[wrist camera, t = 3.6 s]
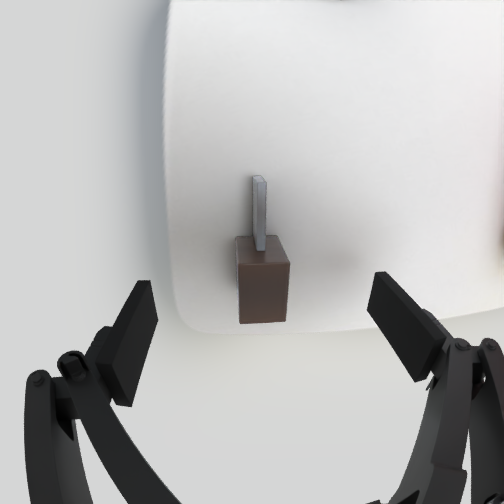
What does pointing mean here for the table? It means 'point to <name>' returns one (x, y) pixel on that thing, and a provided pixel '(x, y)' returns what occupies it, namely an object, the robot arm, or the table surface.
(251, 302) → the blade walnut
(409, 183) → the table surface
